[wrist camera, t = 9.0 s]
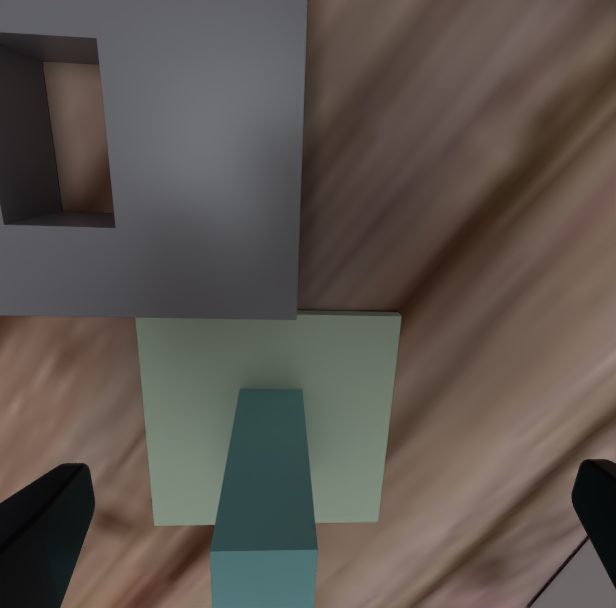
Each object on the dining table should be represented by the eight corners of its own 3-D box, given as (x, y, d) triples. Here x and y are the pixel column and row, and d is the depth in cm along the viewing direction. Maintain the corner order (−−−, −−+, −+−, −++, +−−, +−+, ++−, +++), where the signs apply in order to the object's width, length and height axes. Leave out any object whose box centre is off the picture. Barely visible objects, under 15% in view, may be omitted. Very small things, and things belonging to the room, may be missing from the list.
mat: (398, 312, 20) (401, 316, 20) (375, 513, 24) (377, 521, 23) (139, 307, 19) (134, 311, 19) (157, 516, 23) (154, 525, 23)
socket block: (303, -21, 16) (310, -78, 12) (293, 289, 20) (296, 320, 16) (-160, -54, 15) (-312, -129, 11) (-76, 281, 19) (-168, 312, 15)
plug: (302, 389, 21) (317, 549, 12) (298, 474, 22) (309, 670, 14) (239, 388, 20) (209, 551, 12) (240, 475, 22) (214, 673, 13)
